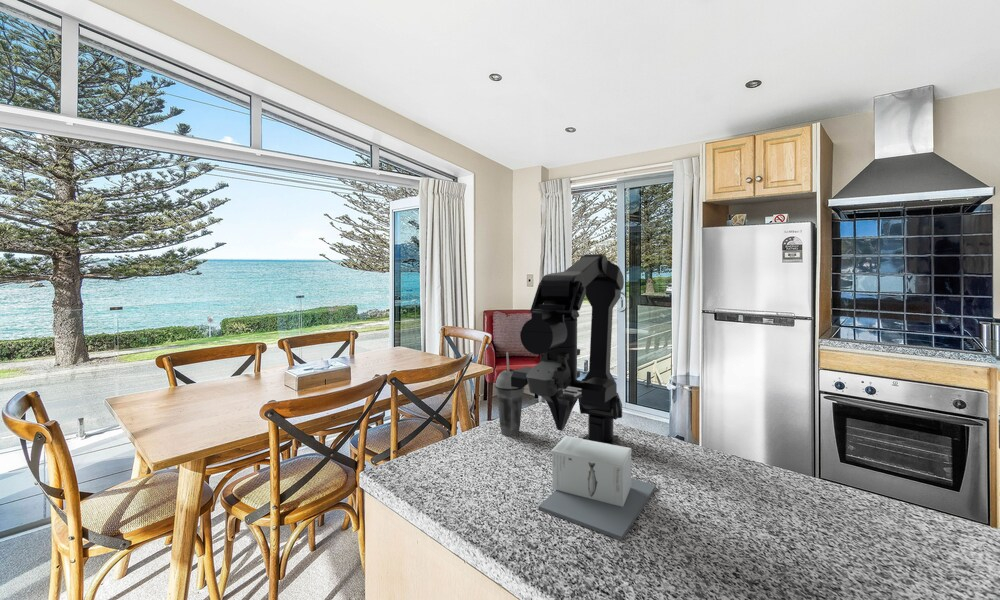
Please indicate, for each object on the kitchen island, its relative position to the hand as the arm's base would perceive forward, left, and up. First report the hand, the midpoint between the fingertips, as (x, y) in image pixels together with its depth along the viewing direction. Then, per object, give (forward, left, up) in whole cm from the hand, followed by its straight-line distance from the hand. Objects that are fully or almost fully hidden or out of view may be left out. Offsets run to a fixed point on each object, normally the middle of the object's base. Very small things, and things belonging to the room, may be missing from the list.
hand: (560, 429), depth 76 cm
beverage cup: (-16, -22, -11) cm, 29 cm away
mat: (0, +8, -10) cm, 13 cm away
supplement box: (0, -1, -6) cm, 6 cm away
